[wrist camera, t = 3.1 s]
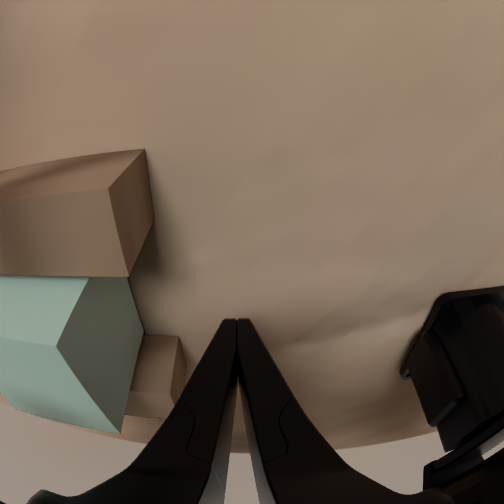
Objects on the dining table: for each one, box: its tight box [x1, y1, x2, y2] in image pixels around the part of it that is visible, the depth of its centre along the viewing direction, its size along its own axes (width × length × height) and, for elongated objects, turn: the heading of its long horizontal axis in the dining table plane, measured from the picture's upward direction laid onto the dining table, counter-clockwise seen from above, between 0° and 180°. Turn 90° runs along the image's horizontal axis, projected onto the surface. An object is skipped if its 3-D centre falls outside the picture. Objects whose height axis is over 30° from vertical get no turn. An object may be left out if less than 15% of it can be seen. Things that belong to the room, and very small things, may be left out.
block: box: [0, 274, 144, 434], centre depth 9 cm, size 5×5×5 cm
